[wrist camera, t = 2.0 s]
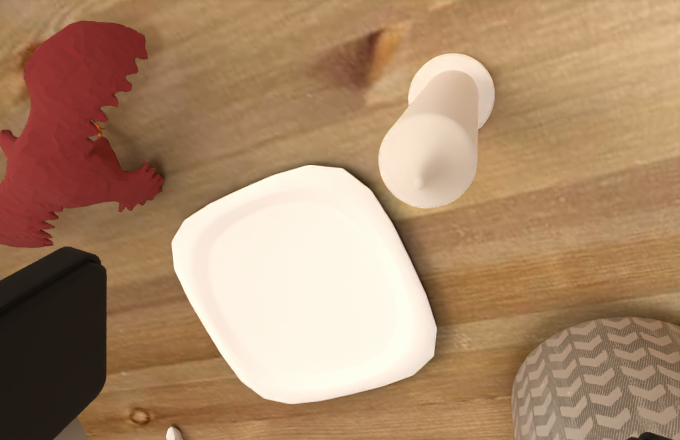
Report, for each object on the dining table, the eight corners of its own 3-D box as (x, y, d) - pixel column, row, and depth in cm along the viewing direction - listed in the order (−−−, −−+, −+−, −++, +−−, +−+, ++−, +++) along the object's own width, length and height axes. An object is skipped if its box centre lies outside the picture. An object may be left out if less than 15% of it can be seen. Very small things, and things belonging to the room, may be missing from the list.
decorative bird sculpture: (210, 48, 51) (46, -27, 40) (236, 101, 45) (53, 30, 35) (104, 235, 63) (-43, 214, 53) (114, 294, 58) (-48, 283, 47)
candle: (450, 34, 41) (413, 52, 18) (513, 93, 41) (554, 182, 18) (392, 100, 44) (299, 185, 21) (451, 154, 44) (422, 295, 22)
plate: (262, 407, 61) (257, 417, 59) (154, 226, 55) (145, 232, 53) (462, 359, 51) (461, 370, 50) (356, 134, 46) (352, 139, 44)
